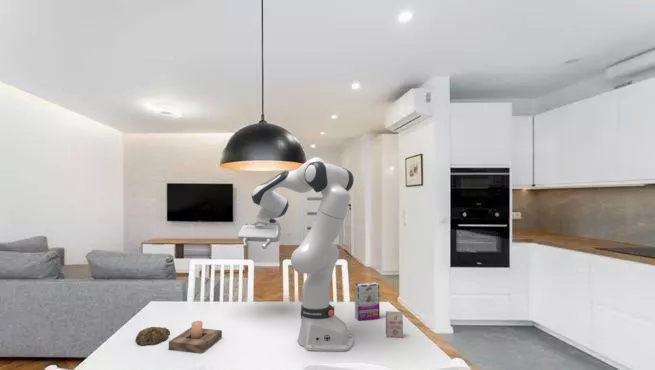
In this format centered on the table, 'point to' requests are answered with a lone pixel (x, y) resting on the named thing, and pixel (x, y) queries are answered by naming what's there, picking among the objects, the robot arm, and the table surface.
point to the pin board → (195, 341)
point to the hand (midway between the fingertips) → (254, 247)
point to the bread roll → (152, 336)
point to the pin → (196, 330)
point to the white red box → (394, 324)
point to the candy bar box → (367, 301)
